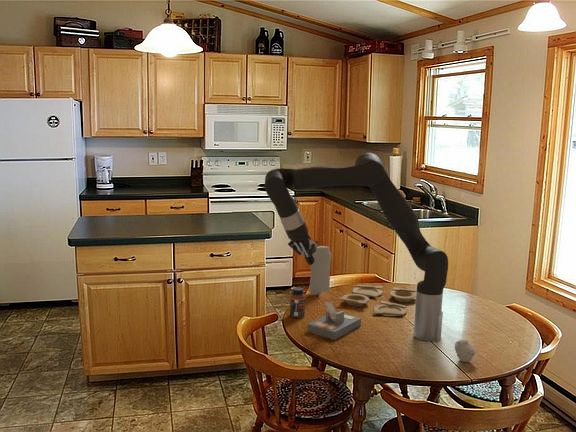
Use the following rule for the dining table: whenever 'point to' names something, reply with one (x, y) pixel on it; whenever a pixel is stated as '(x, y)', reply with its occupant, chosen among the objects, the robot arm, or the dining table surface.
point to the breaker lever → (328, 304)
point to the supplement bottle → (297, 303)
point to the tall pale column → (320, 271)
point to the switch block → (334, 325)
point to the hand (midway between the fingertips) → (311, 263)
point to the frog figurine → (464, 350)
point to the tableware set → (386, 307)
